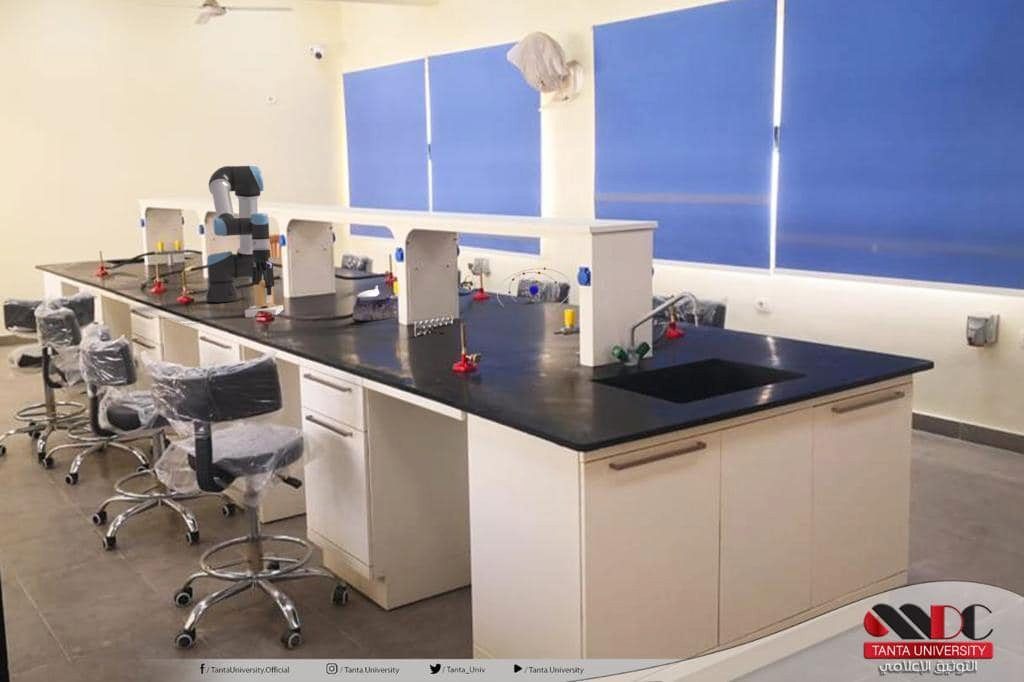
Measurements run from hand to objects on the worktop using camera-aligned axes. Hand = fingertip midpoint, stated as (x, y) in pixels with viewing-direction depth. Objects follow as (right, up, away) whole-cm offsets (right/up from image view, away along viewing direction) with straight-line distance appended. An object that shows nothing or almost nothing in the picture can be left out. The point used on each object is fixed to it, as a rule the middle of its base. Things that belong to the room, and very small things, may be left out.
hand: (264, 302), depth 434 cm
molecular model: (+81, -15, -56) cm, 99 cm away
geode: (+52, -9, -26) cm, 59 cm away
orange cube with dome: (0, -1, 0) cm, 1 cm away
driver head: (+44, +4, +48) cm, 65 cm away
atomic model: (+105, -3, +1) cm, 105 cm away
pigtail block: (0, -5, +1) cm, 5 cm away
